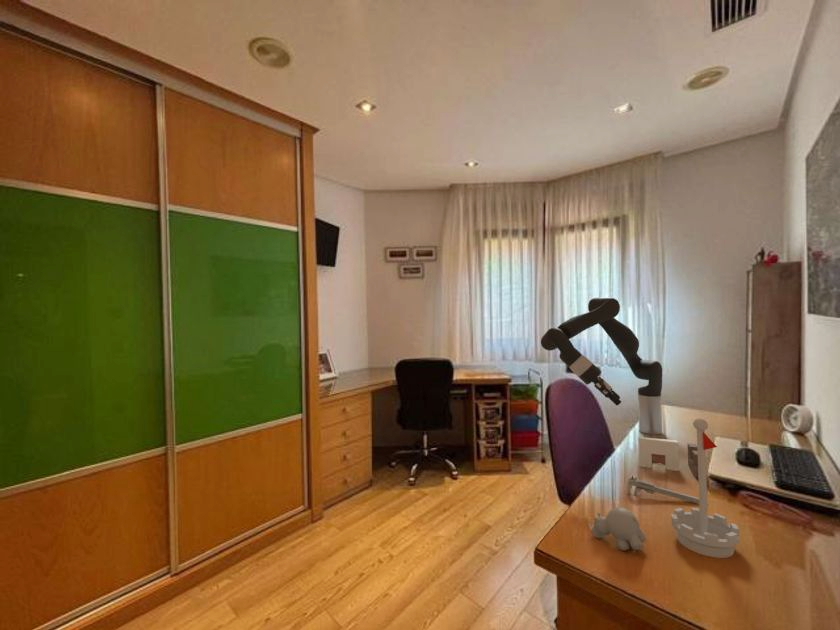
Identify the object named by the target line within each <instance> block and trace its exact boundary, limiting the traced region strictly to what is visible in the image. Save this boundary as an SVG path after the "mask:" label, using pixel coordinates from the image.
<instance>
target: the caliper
mask: <svg viewBox="0 0 840 630" xmlns="http://www.w3.org/2000/svg"><path fill="white" fill-rule="evenodd" d="M626 485H627V488H626V489H627V494H628V495H629V496H630V495H631V493H632V488H633V487H635V489H634V493H633V496H635V497H637V496H638V494H640V492H641V490H643V491H644V492H646V493H648V494H649V493H650V494H654V493H657V494H660V495H661V494H662V495H666V496H667V497H671V498H676V499H679V500H682V501H685V502H689V503H693V504H698V505H699V497H696V496H692V495H689V494H686V493H682V492H678V491H675V490H671V489H667V488H664V487H660V486H656V485H655V484H654V483H650V482H649V481H648V482H647V481H644V480H640V479H638V475H636V476H635V477H634V475H633V474H631V477H629V478H628V480H627V483H626ZM708 505H709V503H707V506H708Z"/></svg>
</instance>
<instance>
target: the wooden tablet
mask: <svg viewBox="0 0 840 630" xmlns="http://www.w3.org/2000/svg"><path fill="white" fill-rule="evenodd" d="M651 456H652V464H655V465H656V464H657V465H658V464H660V465H663V466H665V455H658V454H651Z"/></svg>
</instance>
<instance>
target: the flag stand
mask: <svg viewBox="0 0 840 630" xmlns="http://www.w3.org/2000/svg"><path fill="white" fill-rule="evenodd" d="M692 425H693V427H694V429H696V442H697V444H696V445H697V449H698V478H699V479H698V498H699V504H698V505H699V508H696V507H690V511H685V509H683V508H681V507H679V508H678V507H677V508H675V509H673V513H670V514H671V516H670V517H671V519H670V520H671V522H670V523H671V526H672V528H673V529H674V530H675V532H676V538H677V540H678V543H680V544H681V545H682V546H683V547H685V548H687V549H689V550H691V551H692V552H695V553H696V554H700V555H703V556H707V557H709V558H710V557H712V558H720V559H721V558H722V559H723V558H725V559H726V558H730V557H732V556H733V555H734V554H735V546H737V545H738V544H739V543H740V528H739V527H738V524H736V523H731V522H730V523H728V517H725V516H724V515H721V514H719V513H716V512H715V513H713V516H711V515H708V505H707V504H708V491H707V488H708V487H707V461H706V457H707V456H706V450H711V449H715V448H718V446H717V445H716V444H715V442H713V441H712V440H711V439H710V437H709V436H708V435H707V434H706V430H707V429H708V428H709V423H708V422H707V420H705V419H704V418H701V417H700V418H699V417H698V418H696V419H693V422H692Z"/></svg>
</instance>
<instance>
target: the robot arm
mask: <svg viewBox="0 0 840 630" xmlns="http://www.w3.org/2000/svg"><path fill="white" fill-rule="evenodd" d="M587 309H588V312H585V313H582V314H578V315H576V316H573V317H572V316H571V317H570V318H569V319H567V320H565V321H564V322H562V323H560V324H559V326H558V327H550V328H549V329H548V330H546V332H545V333H544V334H543V336H542V337H541V338H540V345H541V347H542V348H543V349H544V350H546V351H554V350H557V349H558V350H559V352H560V353H559V359H560V360H561V362H563V363H564V364H565V365H566V366H567V367H568V368H569V369H570V370H571V371H572V373H574V375H576V376H577V378H578V379H580V380H581V381H582V382H583V383H584V384H585V385H589V384H591V383H593V386H594V388H595V389H596V390H598V391H599V392H600V393H601V394H602V395H603V396H604V397H605V398H607V399H609V400H610V401H611V402H612V403H613V404H615V406H619V405H620V404H621V403H622V401H621V400H620V399H621V397H620V395H619V394H618V393H617V392H616V391H615V390H614V389H613V388H612V386H611V385H610V384H609V383H608V382H607V381H606V380H605V379H604V378H602V377H601V373H602V371H601V370H600V369H599V368H598V367H597V366H596V365H595V364H594V363H593V362H592V361H591V360H590V359H588V357H586V356H585V355H584V354H582V353H581V352H580V351H579V350H578V349H577V348H576V347H575V346H574V345H573V343H572V342H571V340H570V339H572V338H575V337H576V336H577V335H579V334H581V333H582V332H584V331H586V330H587V329H590V328H592V327H594V326H596V325H599V326H600V327H601V328H602V329H603V330H604V332H605V333H606V335H607V336H608V337H609V339H611V341H612V342H613V344H614V346H615V347H616V348H617V350H618V351H619V353H621V355H622V356H623V358H624V360H625V361H626V362H627V364H628V366H629V369H630V370H631V372H632V373H633V375H634V376H635V377H636V378H637V379H638V380H644V381H648V383H647V385H645V386H640V387H638V390H637V398H638V399H637V402H638V430H639V432H641V433H643V434H648V435H662V434H663V414H662V413H663V412H662V411H663V410H662V391H663V390H662V389H663V367H662V364H661V363H660V362H659V361H658V360H657V361H656V360H647V359H642V358H641V357H640V356H639V353H638V352H639V348H640V341H639V339H638V337H637V336H636V334H635V333H634V332H633V330H632V329H630V327H629V326H627V325H626V324H624V323H623V322H621V321H619V320H617V318H615V317H617V316H618V314H619V313H620V310H621V305H620V302H619V301H618V299H616V298H613V297H610V296H607V297H604V296H601V297H600V296H599V297H594V298H591V299H590V300H589V302H588V306H587Z"/></svg>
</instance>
